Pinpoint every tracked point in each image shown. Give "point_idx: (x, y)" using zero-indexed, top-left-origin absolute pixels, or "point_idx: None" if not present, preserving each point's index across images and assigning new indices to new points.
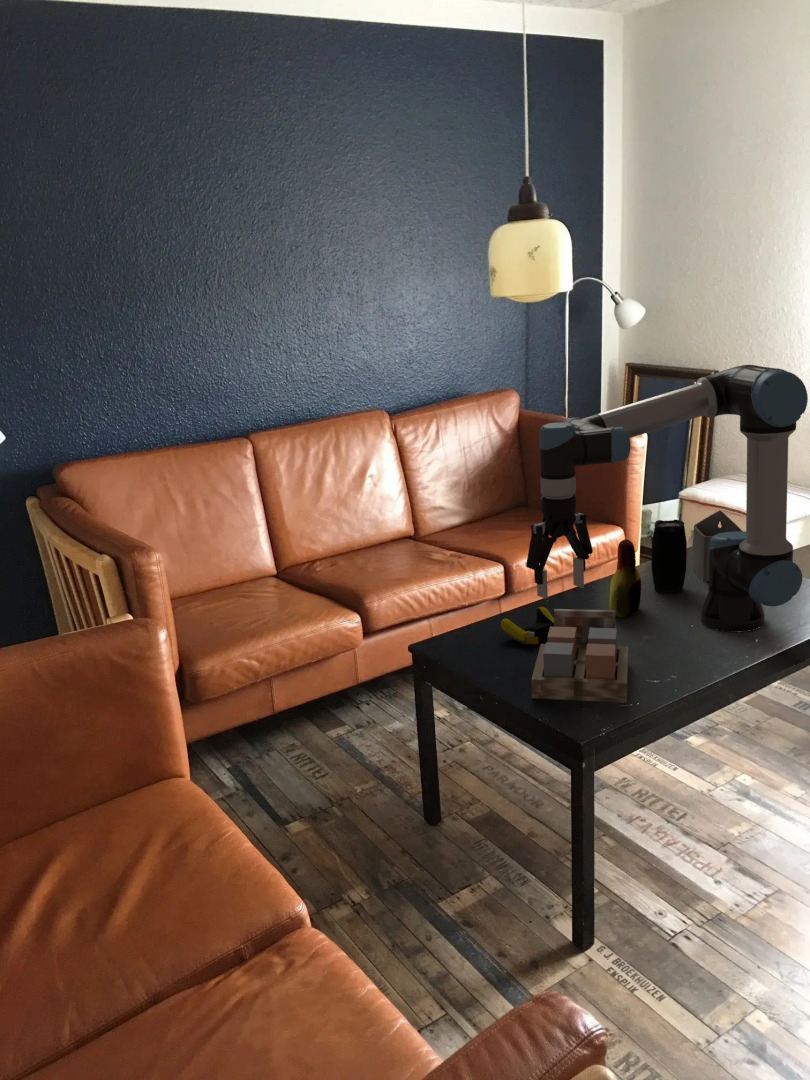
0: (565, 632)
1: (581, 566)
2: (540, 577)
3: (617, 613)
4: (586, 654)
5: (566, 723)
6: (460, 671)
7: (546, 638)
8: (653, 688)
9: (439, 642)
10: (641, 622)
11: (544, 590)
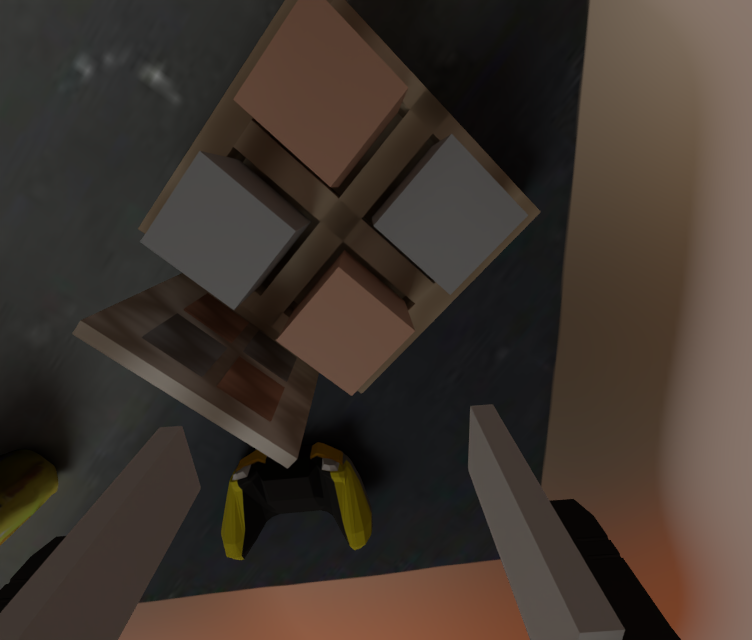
0: (337, 325)
1: (54, 583)
2: (596, 562)
3: (46, 465)
4: (402, 90)
5: (549, 6)
6: (543, 422)
7: None
8: (188, 34)
9: (484, 548)
10: (6, 411)
11: (515, 446)
